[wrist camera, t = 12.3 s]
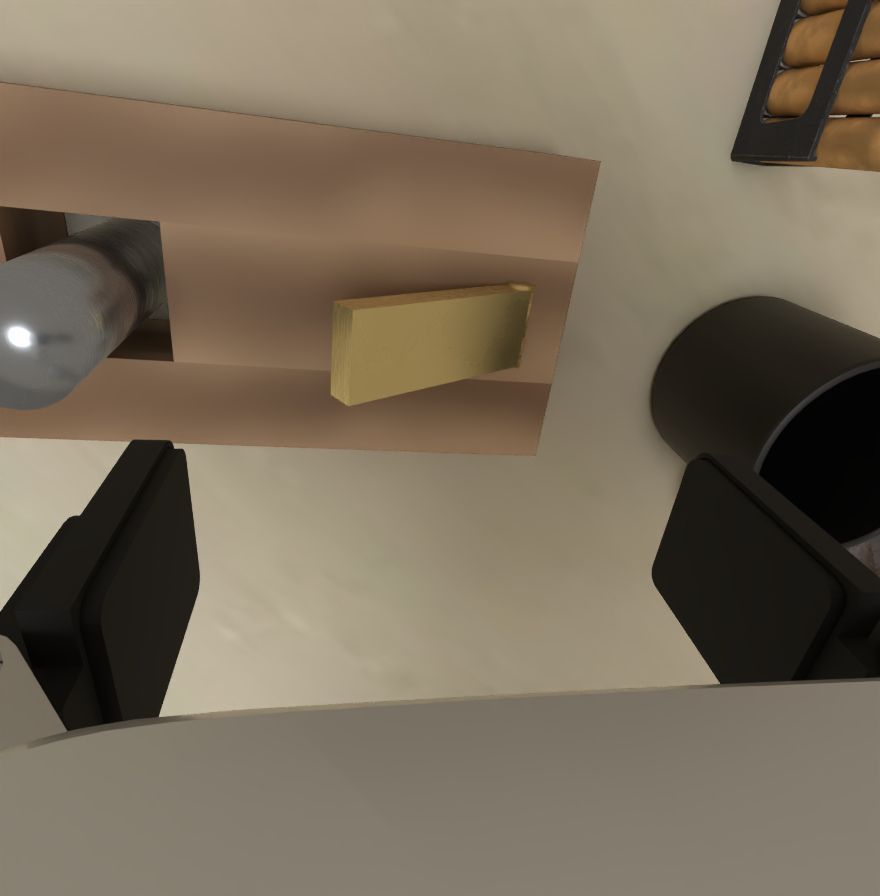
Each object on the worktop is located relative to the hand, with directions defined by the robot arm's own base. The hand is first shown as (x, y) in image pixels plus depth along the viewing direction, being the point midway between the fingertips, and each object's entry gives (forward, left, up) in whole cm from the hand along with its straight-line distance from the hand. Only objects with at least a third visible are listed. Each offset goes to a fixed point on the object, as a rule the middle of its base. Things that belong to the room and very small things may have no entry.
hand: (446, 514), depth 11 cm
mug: (-5, -19, -19) cm, 27 cm away
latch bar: (0, -1, -11) cm, 11 cm away
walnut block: (0, +4, -18) cm, 19 cm away
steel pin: (0, +11, -18) cm, 21 cm away
